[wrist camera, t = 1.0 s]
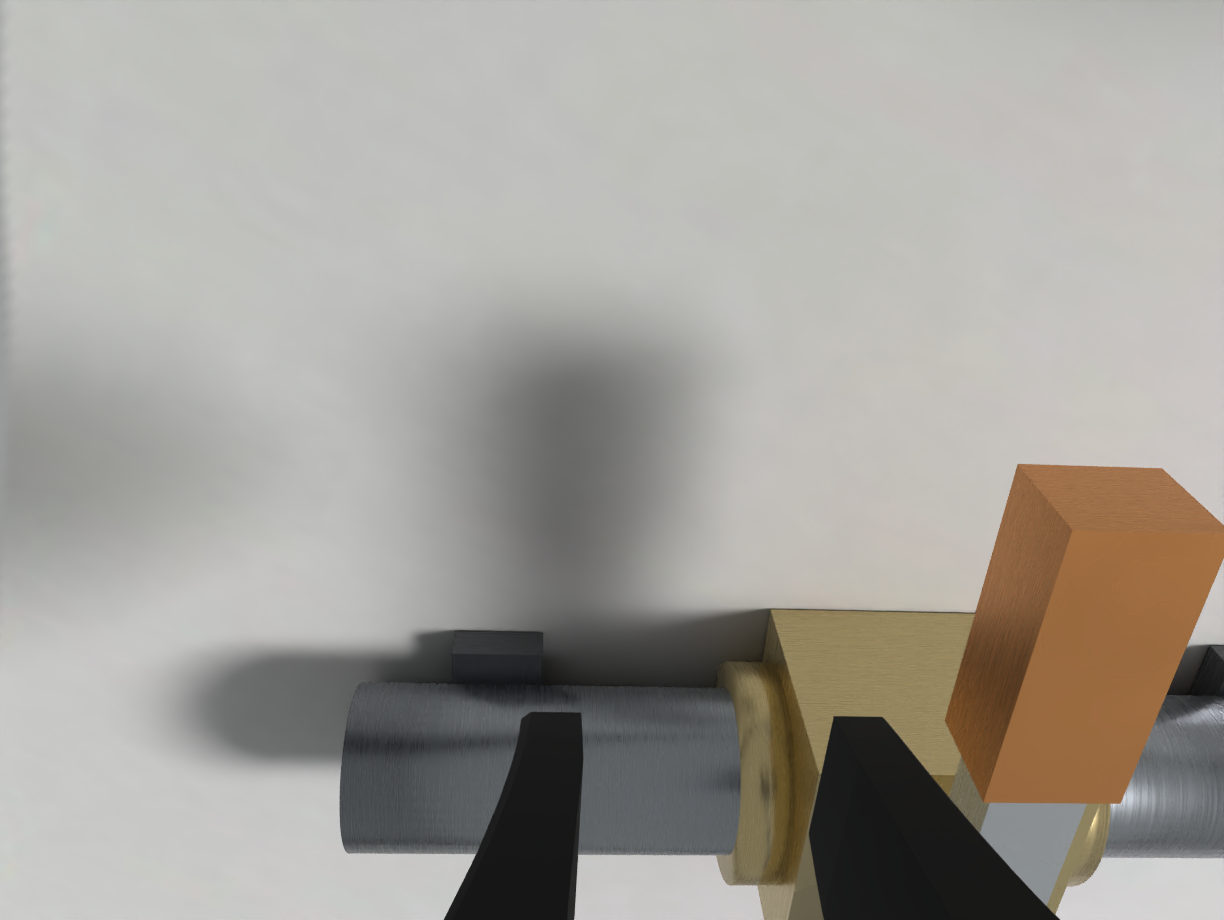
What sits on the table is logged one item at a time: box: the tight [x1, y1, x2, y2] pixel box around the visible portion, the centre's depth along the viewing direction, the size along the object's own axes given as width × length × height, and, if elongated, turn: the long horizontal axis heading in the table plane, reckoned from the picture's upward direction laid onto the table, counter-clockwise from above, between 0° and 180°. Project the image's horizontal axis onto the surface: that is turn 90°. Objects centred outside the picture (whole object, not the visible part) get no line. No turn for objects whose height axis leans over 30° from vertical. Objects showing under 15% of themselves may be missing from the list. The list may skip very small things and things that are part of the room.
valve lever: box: [945, 464, 1224, 906], centre depth 17 cm, size 11×3×2 cm, turn 177°
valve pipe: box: [340, 609, 1224, 920], centre depth 22 cm, size 6×24×5 cm, turn 87°
